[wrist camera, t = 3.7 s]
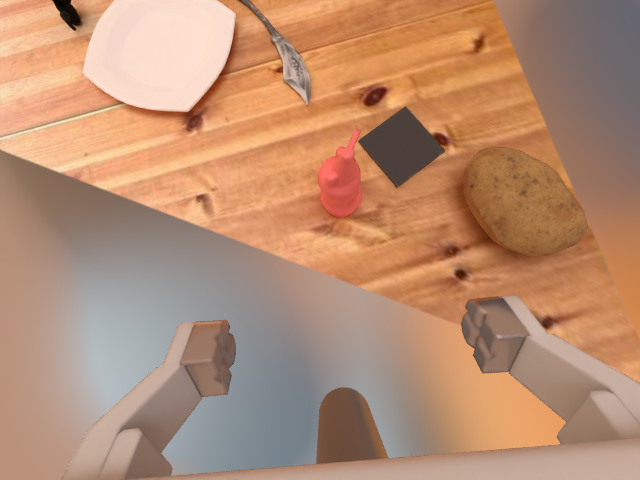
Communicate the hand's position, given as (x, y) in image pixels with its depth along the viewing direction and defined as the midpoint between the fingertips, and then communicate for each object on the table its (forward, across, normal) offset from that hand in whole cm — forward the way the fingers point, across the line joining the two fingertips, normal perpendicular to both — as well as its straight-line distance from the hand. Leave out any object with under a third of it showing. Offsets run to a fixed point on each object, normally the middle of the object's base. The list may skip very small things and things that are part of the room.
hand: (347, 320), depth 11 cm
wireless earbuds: (+50, +33, -11) cm, 61 cm away
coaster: (+33, -11, +6) cm, 35 cm away
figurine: (+29, -2, +11) cm, 31 cm away
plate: (+45, +20, -6) cm, 50 cm away
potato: (+26, -22, +13) cm, 37 cm away
